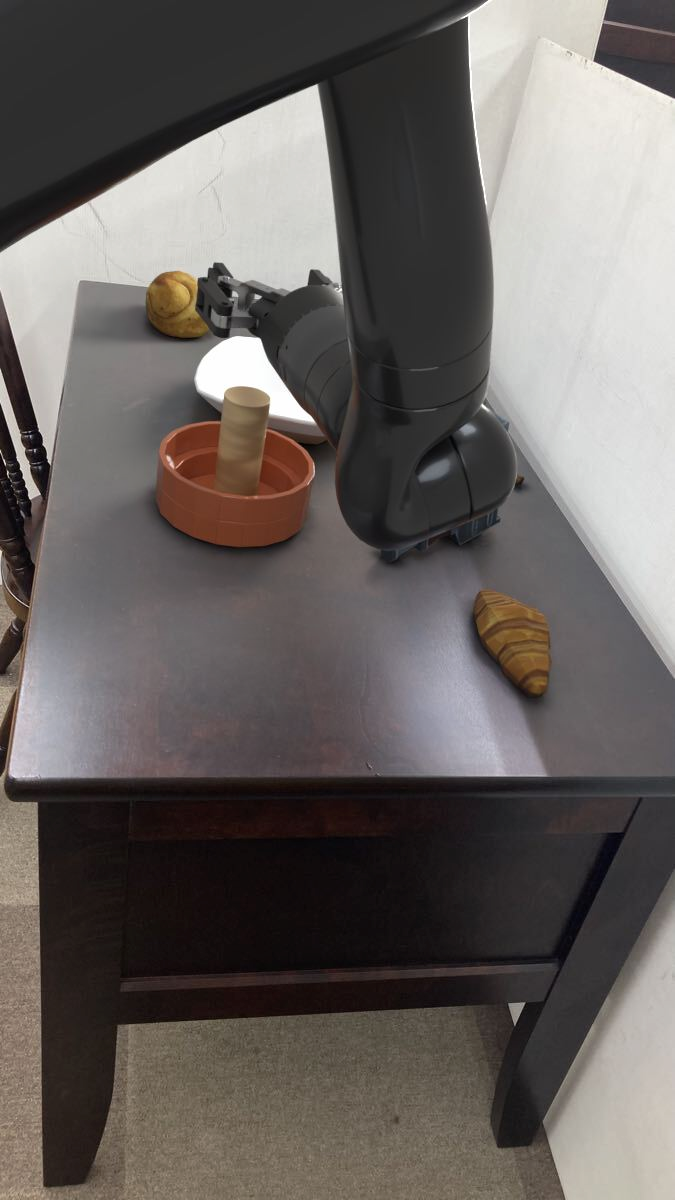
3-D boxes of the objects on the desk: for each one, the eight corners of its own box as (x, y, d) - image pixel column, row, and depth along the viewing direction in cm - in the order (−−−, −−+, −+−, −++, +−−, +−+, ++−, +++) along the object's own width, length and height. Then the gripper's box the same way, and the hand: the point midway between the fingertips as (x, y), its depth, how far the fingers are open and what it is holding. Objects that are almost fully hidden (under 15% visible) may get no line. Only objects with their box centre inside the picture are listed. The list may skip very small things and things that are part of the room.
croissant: (571, 702, 77) (591, 658, 74) (499, 705, 75) (517, 660, 72) (512, 604, 87) (528, 562, 84) (448, 604, 85) (461, 561, 82)
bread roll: (139, 305, 130) (142, 249, 126) (206, 310, 133) (211, 256, 129) (147, 340, 121) (151, 282, 116) (219, 346, 124) (224, 288, 119)
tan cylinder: (217, 517, 88) (230, 406, 81) (207, 493, 92) (219, 385, 84) (260, 515, 90) (276, 407, 83) (248, 492, 93) (263, 386, 86)
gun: (377, 434, 79) (499, 374, 85) (377, 569, 92) (483, 508, 98) (397, 448, 78) (519, 386, 84) (394, 583, 90) (501, 521, 96)
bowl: (378, 402, 118) (387, 365, 115) (357, 478, 101) (367, 436, 98) (220, 365, 119) (224, 327, 116) (172, 434, 101) (175, 392, 98)
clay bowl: (173, 556, 83) (178, 501, 79) (142, 472, 94) (145, 421, 90) (325, 547, 89) (336, 496, 85) (279, 469, 99) (287, 420, 96)
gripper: (429, 311, 65) (349, 238, 76) (241, 301, 59) (185, 224, 71) (405, 406, 69) (333, 323, 81) (228, 405, 64) (178, 316, 75)
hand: (264, 277), depth 76 cm, fingers open, 8 cm apart
